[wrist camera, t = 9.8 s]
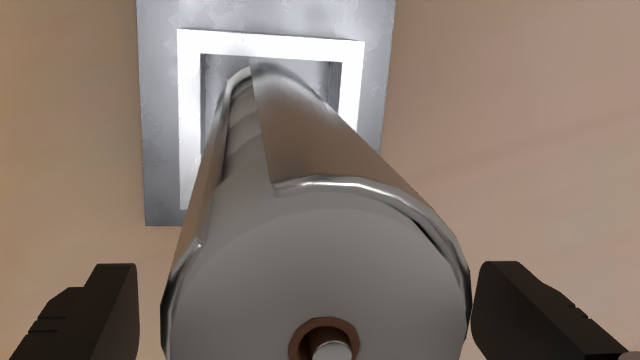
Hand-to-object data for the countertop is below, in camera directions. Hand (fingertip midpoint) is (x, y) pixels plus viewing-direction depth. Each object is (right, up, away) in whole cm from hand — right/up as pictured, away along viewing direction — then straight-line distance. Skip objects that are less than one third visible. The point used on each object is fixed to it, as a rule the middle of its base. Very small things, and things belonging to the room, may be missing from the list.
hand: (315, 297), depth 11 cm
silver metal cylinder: (-3, +7, +21) cm, 23 cm away
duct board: (-4, +7, +22) cm, 24 cm away
